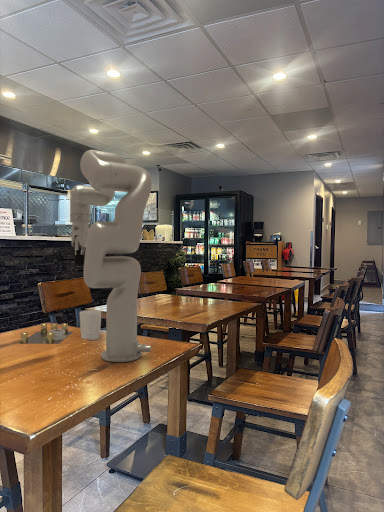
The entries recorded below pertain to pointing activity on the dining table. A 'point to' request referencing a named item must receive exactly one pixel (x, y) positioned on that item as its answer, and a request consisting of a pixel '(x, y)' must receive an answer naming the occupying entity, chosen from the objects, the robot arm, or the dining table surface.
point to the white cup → (90, 324)
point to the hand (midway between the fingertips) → (79, 264)
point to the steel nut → (58, 333)
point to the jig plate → (44, 335)
